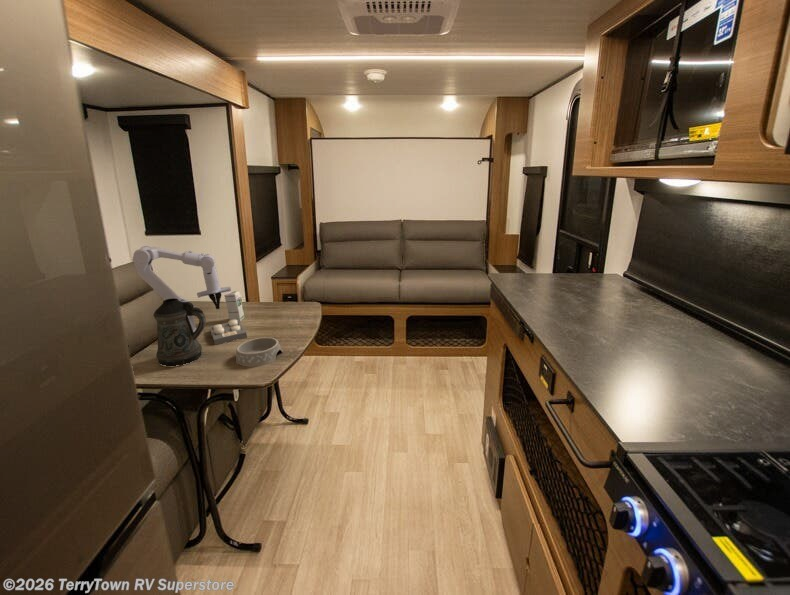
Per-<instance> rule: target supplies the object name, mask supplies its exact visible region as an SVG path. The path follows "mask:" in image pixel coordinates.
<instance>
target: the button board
mask: <svg viewBox="0 0 790 595" xmlns="http://www.w3.org/2000/svg"><path fill="white" fill-rule="evenodd" d="M237 322H238V325H239V326H240V328H241V330H237V331H231V327H229V323H228V322H223V323H221V325H222V327H223V328H224V332H225V333H223V334H219V335H215V331H214V330H213V326H214V325H209V331H210V335H211V337H212V340H214V341H213V343H214V345H215V344H217V345H220V343H221V344H226V343H229V342H234V341H238V340H237V339H239V340H243V339H246V338H248V334H247V331H246V329H245V328H244V326H243V324H242V323H241V321H239V320H238V321H237ZM242 338H243V339H242ZM233 340H234V341H233ZM225 342H226V343H225Z"/></svg>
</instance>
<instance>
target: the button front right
mask: <svg viewBox="0 0 790 595" xmlns="http://www.w3.org/2000/svg"><path fill="white" fill-rule="evenodd" d="M237 330H241V328H240V326H239V325H236V326H232V327H231V331H237Z"/></svg>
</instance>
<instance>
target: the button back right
mask: <svg viewBox="0 0 790 595" xmlns="http://www.w3.org/2000/svg"><path fill="white" fill-rule="evenodd" d="M227 323H229V327H232V326H236V325H238V322H237V320H235V319H234V320H228V322H227Z"/></svg>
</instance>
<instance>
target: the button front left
mask: <svg viewBox="0 0 790 595" xmlns="http://www.w3.org/2000/svg"><path fill="white" fill-rule="evenodd" d="M214 331H215V335H219V334H223V333H225V332H224V328H223V327H219V328H216V329H214Z"/></svg>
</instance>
